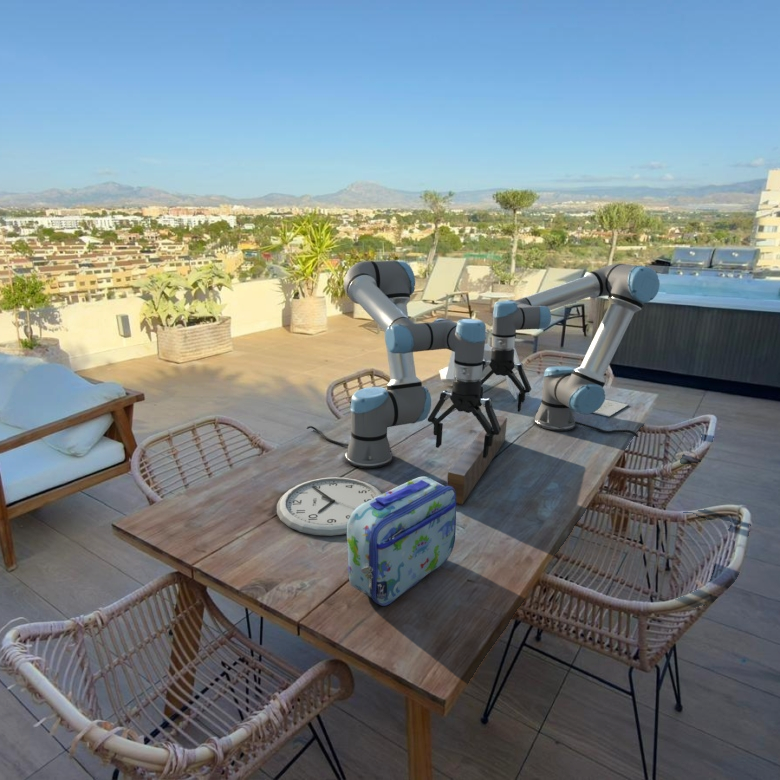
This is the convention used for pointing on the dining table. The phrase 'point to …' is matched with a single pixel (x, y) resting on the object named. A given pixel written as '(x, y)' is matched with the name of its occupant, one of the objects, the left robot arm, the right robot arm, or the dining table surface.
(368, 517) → the lunch box
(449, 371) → the white plastic object
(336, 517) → the wall clock
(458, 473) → the board
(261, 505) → the dining table surface
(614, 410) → the invitation card
